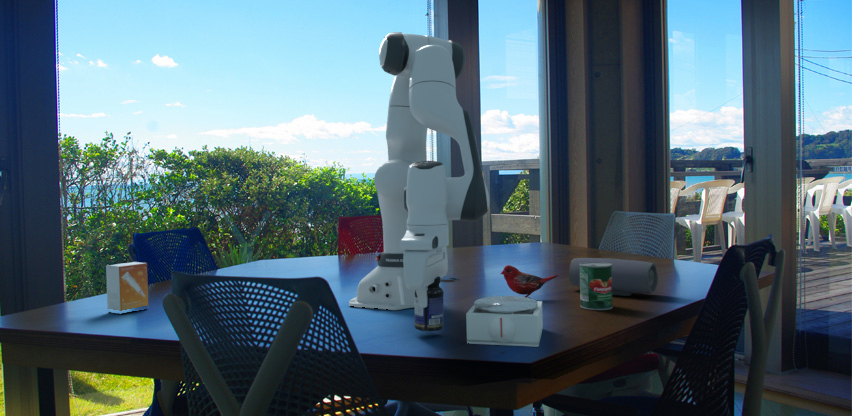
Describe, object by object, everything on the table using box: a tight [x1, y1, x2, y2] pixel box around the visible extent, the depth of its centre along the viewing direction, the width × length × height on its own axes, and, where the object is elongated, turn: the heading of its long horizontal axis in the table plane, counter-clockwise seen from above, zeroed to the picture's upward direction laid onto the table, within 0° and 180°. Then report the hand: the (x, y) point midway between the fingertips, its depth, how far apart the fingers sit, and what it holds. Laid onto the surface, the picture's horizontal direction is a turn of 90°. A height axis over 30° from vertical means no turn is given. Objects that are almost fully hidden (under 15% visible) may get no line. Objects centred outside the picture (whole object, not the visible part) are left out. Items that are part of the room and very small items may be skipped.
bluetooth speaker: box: [568, 257, 659, 297], centre depth 157 cm, size 23×9×10 cm, turn 50°
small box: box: [105, 261, 149, 311], centre depth 151 cm, size 8×6×13 cm
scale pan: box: [473, 295, 538, 314], centre depth 115 cm, size 13×13×4 cm
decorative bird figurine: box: [500, 264, 559, 299], centre depth 151 cm, size 3×18×10 cm, turn 107°
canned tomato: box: [579, 262, 614, 311], centre depth 140 cm, size 8×8×11 cm
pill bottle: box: [414, 276, 444, 332], centre depth 117 cm, size 6×6×11 cm
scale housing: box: [465, 300, 544, 348], centre depth 115 cm, size 14×15×6 cm
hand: (428, 303), depth 117 cm, fingers closed on pill bottle, 6 cm apart
